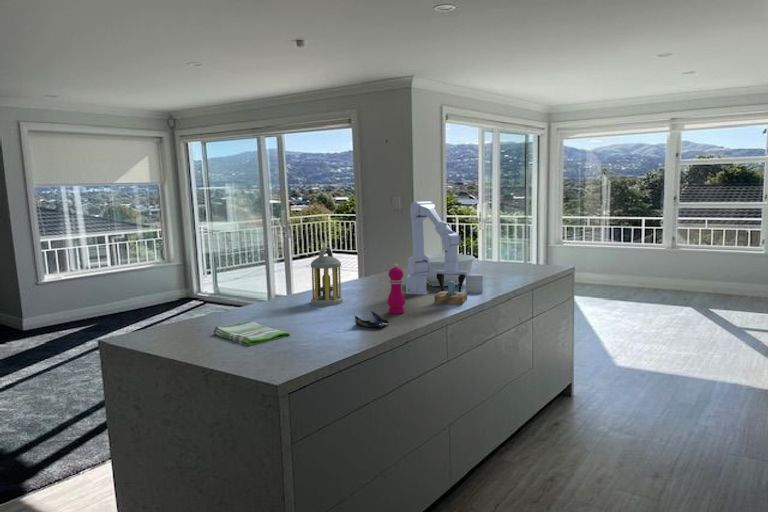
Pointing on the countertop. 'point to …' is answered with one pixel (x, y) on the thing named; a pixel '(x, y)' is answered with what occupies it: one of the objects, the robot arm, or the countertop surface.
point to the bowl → (439, 264)
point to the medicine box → (474, 283)
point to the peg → (451, 288)
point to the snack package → (369, 323)
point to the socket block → (450, 298)
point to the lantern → (326, 279)
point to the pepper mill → (396, 291)
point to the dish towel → (249, 333)
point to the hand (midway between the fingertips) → (451, 291)
